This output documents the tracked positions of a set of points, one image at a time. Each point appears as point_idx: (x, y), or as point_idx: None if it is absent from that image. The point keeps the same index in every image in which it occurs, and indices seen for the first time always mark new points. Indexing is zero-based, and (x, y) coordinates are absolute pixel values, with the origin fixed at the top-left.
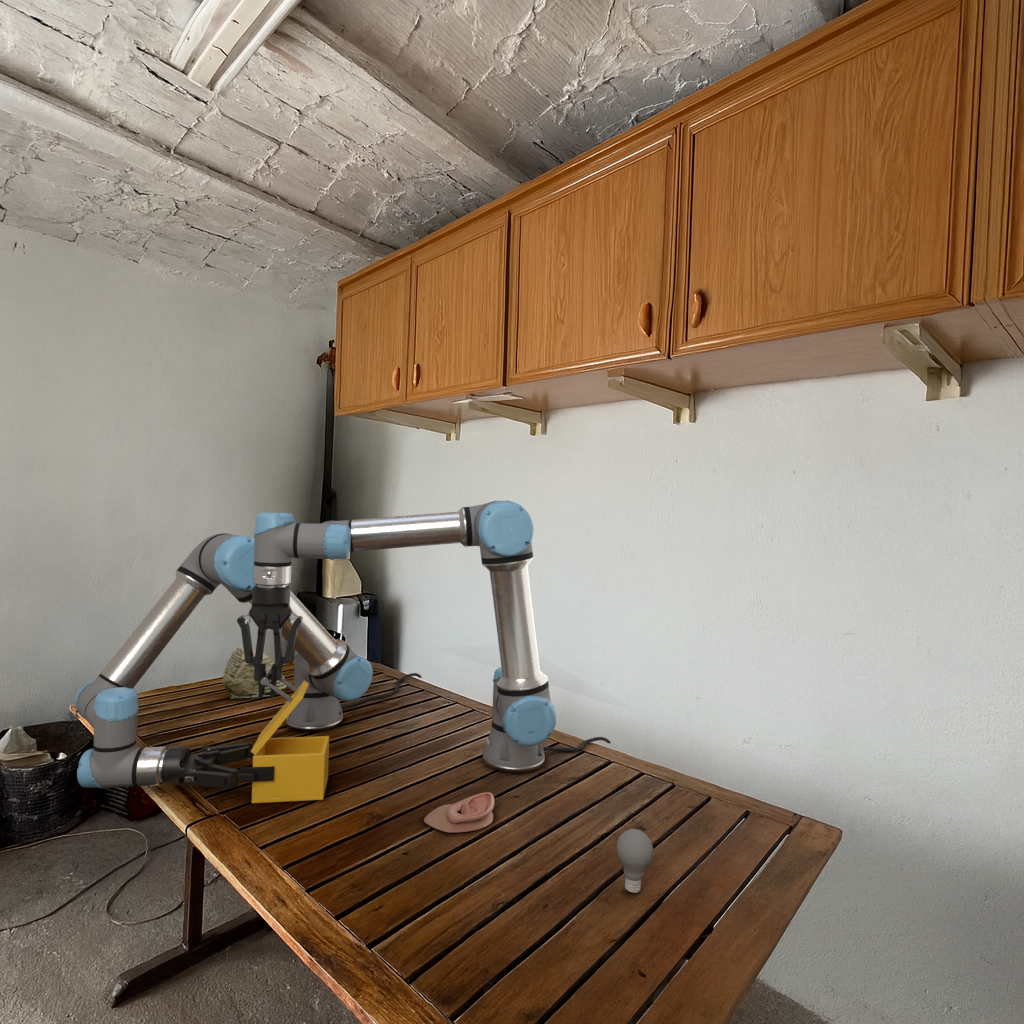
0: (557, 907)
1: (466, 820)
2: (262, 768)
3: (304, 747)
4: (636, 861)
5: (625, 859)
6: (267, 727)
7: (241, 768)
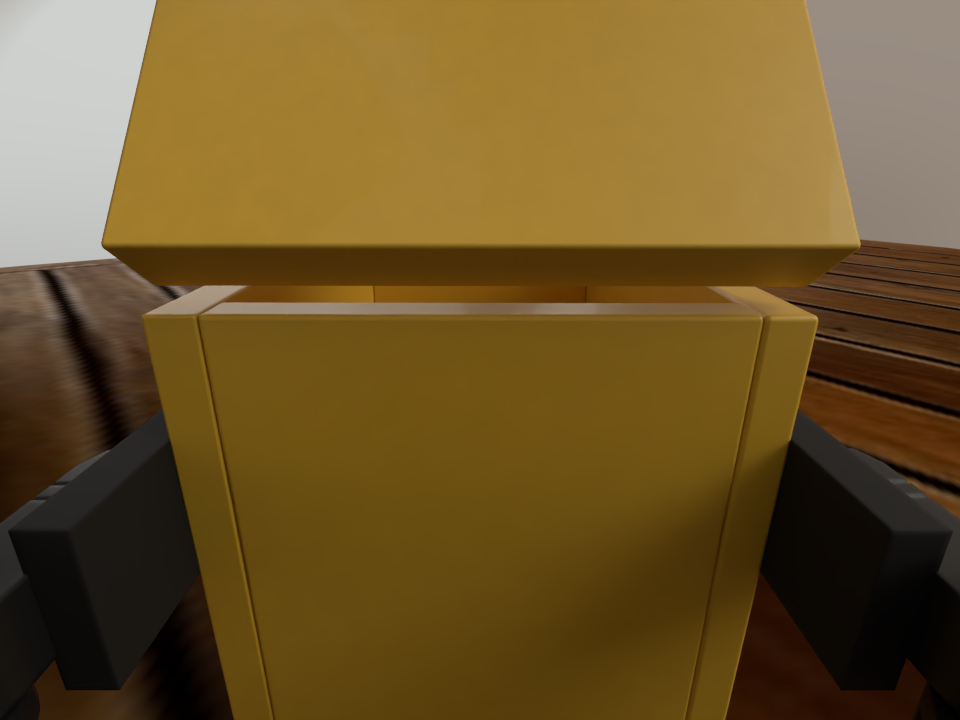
0: (868, 269)
1: None
2: None
3: (346, 300)
4: None
5: None
6: (449, 31)
7: (923, 517)
